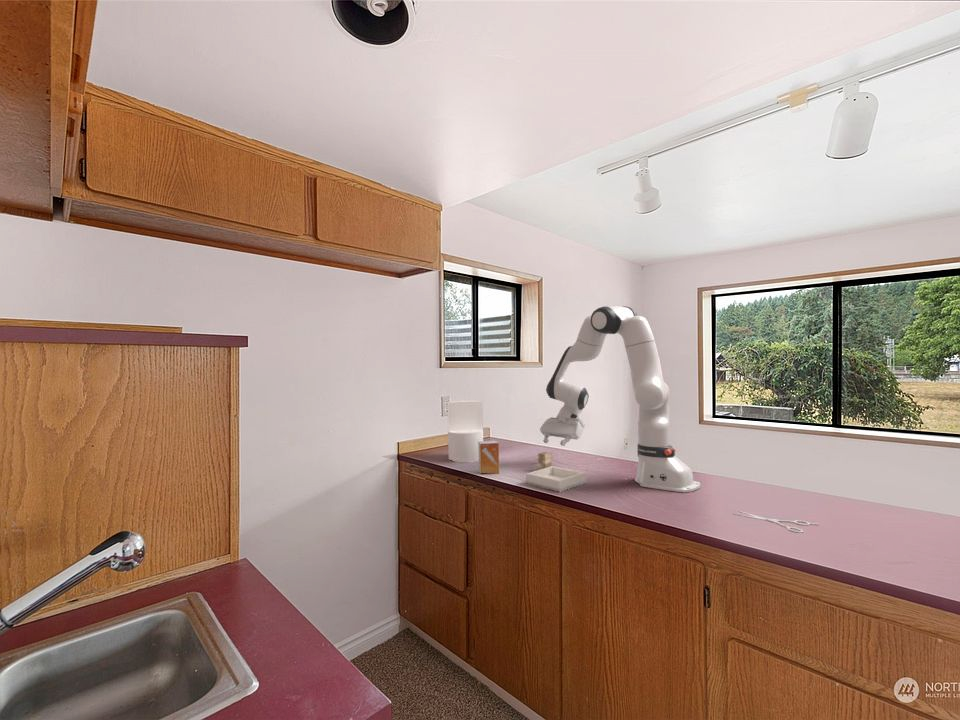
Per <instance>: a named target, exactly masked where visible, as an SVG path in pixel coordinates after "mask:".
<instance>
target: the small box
mask: <svg viewBox="0 0 960 720" xmlns="http://www.w3.org/2000/svg"><path fill="white" fill-rule="evenodd" d="M499 445H500V444H499V442H498V441H497V440H483V441H478V451H479V461H478V471H480V472H479V474H481V473H494V474H500V446H499Z"/></svg>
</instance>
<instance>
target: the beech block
mask: <svg viewBox="0 0 960 720" xmlns="http://www.w3.org/2000/svg"><path fill="white" fill-rule="evenodd" d="M537 462H538V464H537V465H538V467H537V468H538V469H537V470H541V469H544V468H548V467H551V466H553V465H552V463H553V462H552V452H546V451H542V452H538V453H537Z"/></svg>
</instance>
